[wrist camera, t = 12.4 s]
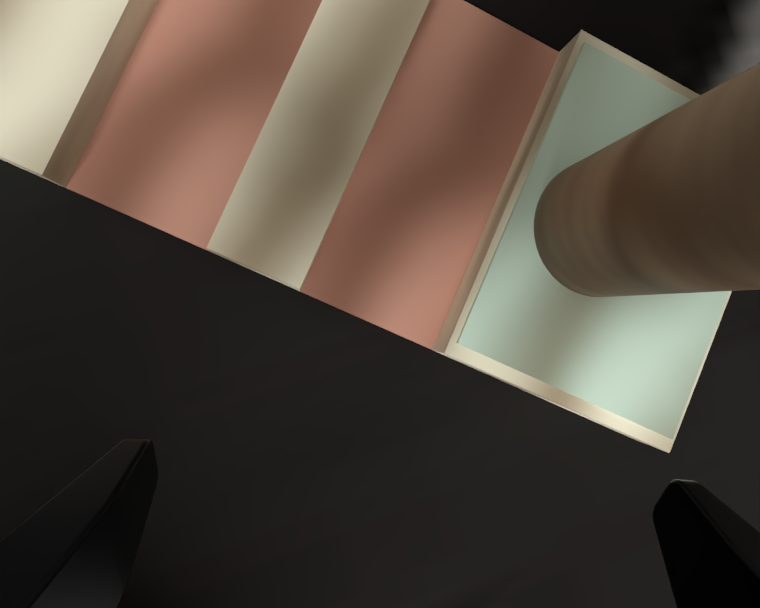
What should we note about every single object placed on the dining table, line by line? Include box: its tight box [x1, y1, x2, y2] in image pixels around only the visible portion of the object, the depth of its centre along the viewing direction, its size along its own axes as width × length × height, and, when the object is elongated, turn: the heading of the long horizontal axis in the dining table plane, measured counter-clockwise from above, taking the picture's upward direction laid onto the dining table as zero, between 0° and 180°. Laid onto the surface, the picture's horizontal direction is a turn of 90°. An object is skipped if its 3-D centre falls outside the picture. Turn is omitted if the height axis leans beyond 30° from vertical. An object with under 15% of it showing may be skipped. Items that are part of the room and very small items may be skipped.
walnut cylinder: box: [534, 63, 760, 297], centre depth 14 cm, size 5×5×10 cm
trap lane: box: [0, 0, 732, 453], centre depth 19 cm, size 33×13×2 cm, turn 66°
